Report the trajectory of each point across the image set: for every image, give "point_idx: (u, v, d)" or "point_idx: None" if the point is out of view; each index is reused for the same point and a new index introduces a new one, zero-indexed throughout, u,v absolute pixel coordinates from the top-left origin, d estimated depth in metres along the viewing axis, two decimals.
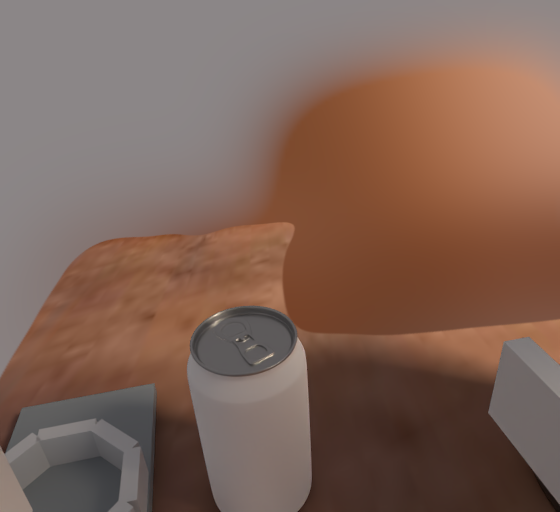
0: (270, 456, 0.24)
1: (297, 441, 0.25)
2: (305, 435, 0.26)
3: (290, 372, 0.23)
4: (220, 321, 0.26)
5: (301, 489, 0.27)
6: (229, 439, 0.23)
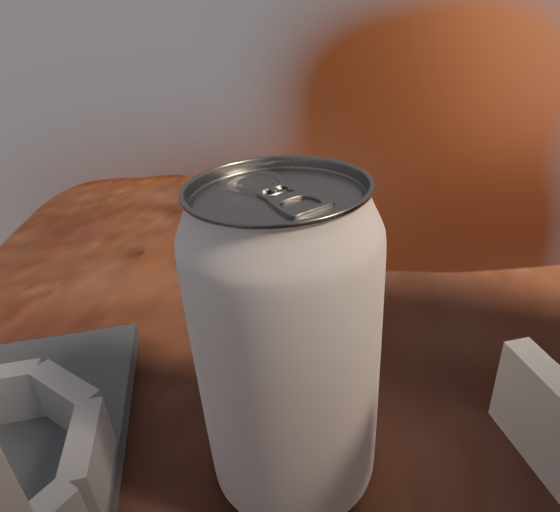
0: (322, 399, 0.13)
1: (367, 377, 0.14)
2: (377, 371, 0.15)
3: (366, 237, 0.12)
4: (233, 175, 0.15)
5: (364, 467, 0.16)
6: (250, 365, 0.13)
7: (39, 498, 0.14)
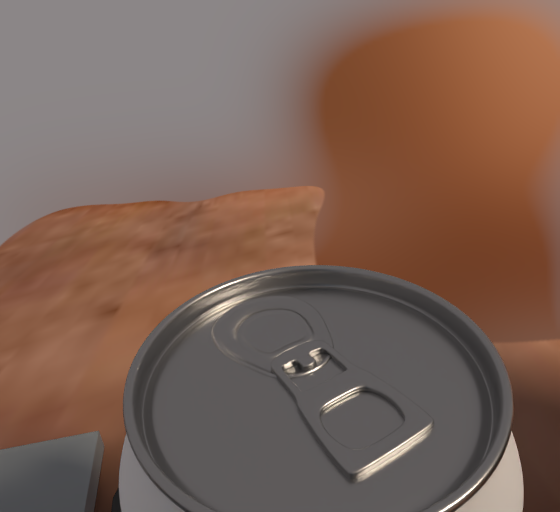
0: None
1: None
2: None
3: (503, 507, 0.06)
4: (234, 305, 0.09)
5: None
6: None
7: None
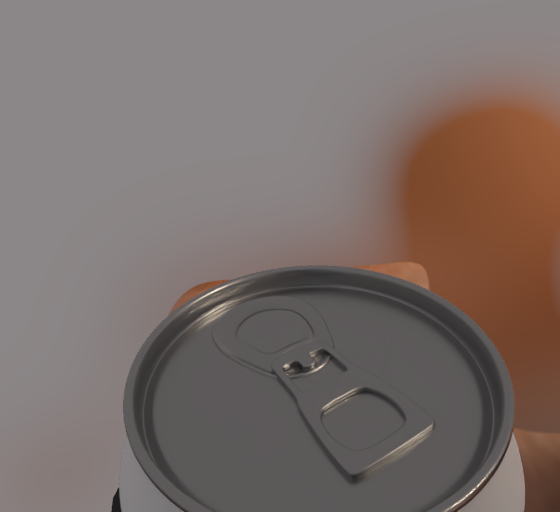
0: None
1: None
2: None
3: (504, 508, 0.06)
4: (235, 306, 0.09)
5: None
6: None
7: None
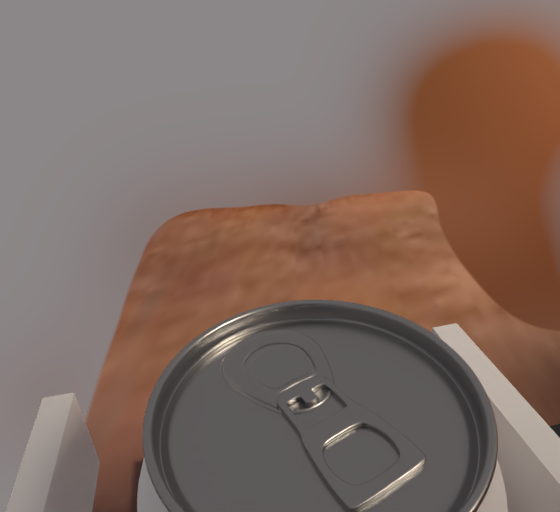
0: None
1: None
2: None
3: None
4: (241, 339, 0.10)
5: None
6: None
7: None
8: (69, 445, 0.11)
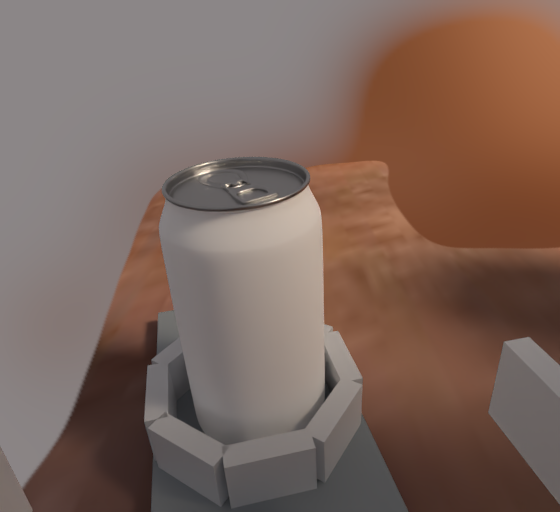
0: (270, 343, 0.18)
1: (307, 328, 0.18)
2: (318, 326, 0.19)
3: (299, 219, 0.16)
4: (207, 172, 0.20)
5: (311, 405, 0.21)
6: (213, 314, 0.17)
7: (337, 390, 0.21)
8: None
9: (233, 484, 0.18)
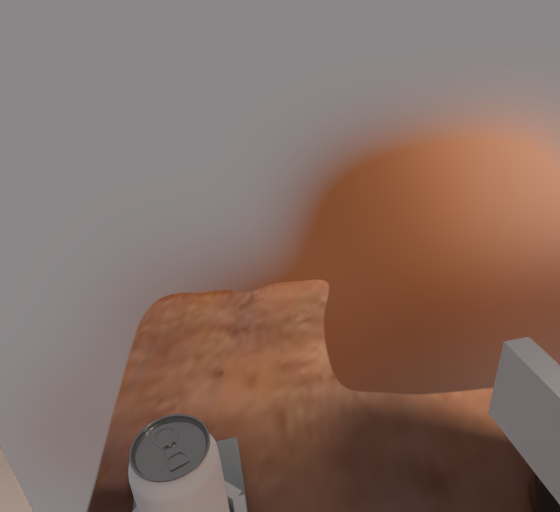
0: None
1: None
2: None
3: (200, 476, 0.31)
4: (157, 427, 0.34)
5: None
6: None
7: None
8: None
9: None
